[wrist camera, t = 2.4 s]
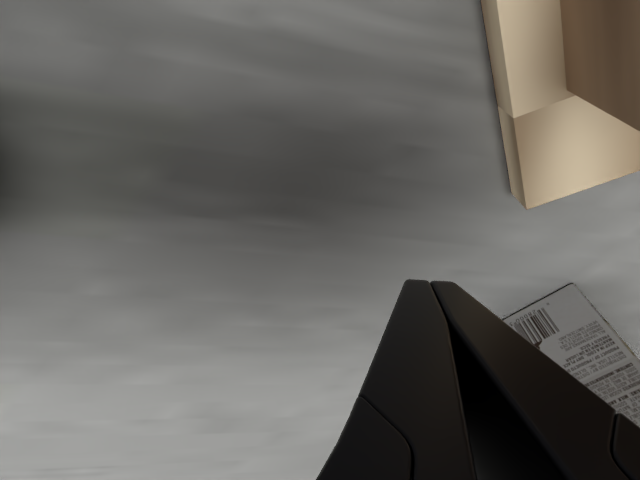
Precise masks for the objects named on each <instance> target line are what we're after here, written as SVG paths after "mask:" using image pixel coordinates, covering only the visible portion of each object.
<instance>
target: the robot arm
mask: <svg viewBox="0 0 640 480" xmlns="http://www.w3.org/2000/svg"><path fill="white" fill-rule="evenodd" d="M316 480H640V427H639V426H638V425H636V424H635V423H634V422H633V421H631V420H630V419H629V418H627V417H626V416H625V415H624V414H622V413H617V414H616V410H615V408H613V407H612V406H611V405H609V404H608V403H607V402H606V401H604V400H603V399H602V398H601V397H599V396H598V395H597V394H595V393H594V392H593V391H592V390H590V389H589V388H588V387H587V386H585V385H584V384H583V383H581V382H580V381H579V380H578V379H576V378H575V377H574V376H573V375H571V374H570V373H569V372H567V371H566V370H565V369H564V368H562V367H561V366H560V365H559V364H557V363H556V362H555V361H553V360H552V359H551V358H550V357H548V356H547V355H546V354H545V353H543V352H542V351H541V350H539V349H538V348H537V347H536V346H534V345H533V344H532V343H530V342H529V341H528V340H527V339H525V338H524V337H523V336H522V335H520V334H519V333H518V332H516V331H515V330H514V329H513V328H511V327H510V326H509V325H508V324H506V323H505V322H504V321H502V320H501V319H500V318H499V317H497V316H496V315H495V314H494V313H492V312H491V311H490V310H488V309H487V308H486V307H485V306H483V305H482V304H481V303H480V302H478V301H477V300H476V299H474V298H473V297H472V296H471V295H469V294H468V293H467V292H466V291H464V290H463V289H462V288H460V287H459V286H458V285H457V284H455V283H453V282H447V281H432V282H430V283H429V282H428V281H426V280H411V279H408V280H406V281H405V282H404V285H403V287H402V290H401V292H400V295H399V297H398V300H397V302H396V304H395V307H394V309H393V312H392V314H391V317H390V319H389V322H388V324H387V327H386V329H385V331H384V334H383V336H382V339H381V341H380V344H379V346H378V349H377V351H376V353H375V356H374V358H373V361H372V363H371V366H370V368H369V371H368V373H367V376H366V378H365V380H364V383H363V385H362V388H361V390H360V393H359V395H358V398H357V399H356V401H355V404H354V406H353V409H352V411H351V414H350V416H349V418H348V420H347V422H346V425H345V427H344V429H343V431H342V433H341V435H340V438H339V440H338V442H337V444H336V446H335V447H334V449H333V451H332V453H331V454H330V456H329V458H328V460H327V461H326V463H325V465H324V467H323V468H322V470H321V472H320V474H319V475H318V477H317V479H316Z"/></svg>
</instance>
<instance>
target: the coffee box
mask: <svg viewBox="0 0 640 480" xmlns="http://www.w3.org/2000/svg"><path fill="white" fill-rule="evenodd" d="M503 321H504V322H505V323H506V324H508V325H509V326H510V327H511V328H513V329H514V330H515V331H516V332H518V333H519V334H520V335H522V336H523V337H524V338H525V339H527V340H528V341H529V342H530V343H532V344H533V345H534V346H536V347H537V348H538V349H539V350H541V351H542V352H543V353H545V354H546V355H547V356H548V357H550V358H551V359H552V360H553V361H555V362H556V363H557V364H559V365H560V366H561V367H562V368H564V369H565V370H566V371H567V372H569V373H570V374H571V375H573V376H574V377H575V378H576V379H578V380H579V381H580V382H581V383H583V384H584V385H585V386H587V387H588V388H589V389H590V390H592V391H593V392H594V393H595V394H597V395H598V396H599V397H601V398H602V399H603V400H604V401H606V402H607V403H608V404H609V405H611V406H612V407H613V408H615V410H616V414H617V413H622V414H624V415H625V416H626V417H627V418H629V419H630V420H631V421H633V422H634V423H635V424H636V425H638V426H639V427H640V360H639V359H638V358H637V357H636V356H635V354H634V353H633V352H632V350H631V349H630V348H629V347H628V346H627V344H626V343H625V342H624V341H623V340H622V339H621V338H620V337H619V335H618V334H617V333H616V332H615V331H614V329H613V328H612V327H611V326H610V325H609V323H608V322H607V321H606V320H605V319H604V318H603V317H602V315H601V314H600V313H599V312H598V311H597V309H596V308H595V307H594V306H593V305H592V304H591V303H590V302H589V300H588V299H587V298H586V297H585V296H584V295H583V294H582V292H581V291H580V290H579V289H578V288H577V286H576V285H574V284H570V285H568V286H566V287H564V288H562V289H561V290H559V291H557V292H555V293H553V294H551V295H549V296H548V297H546V298H544V299H542V300H540V301H538V302H536V303H534V304H533V305H531V306H529V307H527V308H525V309H523V310H521V311H519V312H517V313H516V314H514V315H512V316H510V317H508V318H506V319H504V320H503Z"/></svg>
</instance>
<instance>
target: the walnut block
mask: <svg viewBox="0 0 640 480" xmlns="http://www.w3.org/2000/svg"><path fill="white" fill-rule="evenodd" d="M560 9H561V22H562V34H563V47H564V60H565V73H566V86H567V91H569V92H571V93H573V94H574V95H576V96H578V97H580V98H582V99H583V100H585V101H587V102H589V103H590V104H592V105H594V106H596V107H597V108H599V109H601V110H603V111H604V112H606V113H608V114H610V115H611V116H613V117H615V118H617V119H619V120H620V121H622V122H624V123H626V124H627V125H629V126H631V127H633V128H634V129H636V130H638V131H640V0H560Z"/></svg>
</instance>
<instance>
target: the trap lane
mask: <svg viewBox="0 0 640 480" xmlns="http://www.w3.org/2000/svg"><path fill="white" fill-rule="evenodd" d="M481 6H482V12H483V18H484V24H485V31H486V37H487V43H488V49H489V56H490V62H491V68H492V74H493V81H494V87H495V93H496V99H497V106H498V112H499V118H500V124H501V130H502V137H503V143H504V149H505V155H506V162H507V168H508V174H509V180H510V187H511V193H512V194H513V195H514V196H515V198H516V199H517V200H518V201H519V202H520V203H521V204H522V205H523V206H524V207H525V209H526V210H528V209H530V208H533V207H536V206H539V205H542V204H545V203H548V202H551V201H553V200H556V199H559V198H562V197H565V196H568V195H571V194H574V193H576V192H579V191H582V190H585V189H588V188H591V187H594V186H596V185H599V184H602V183H605V182H608V181H611V180H614V179H617V178H619V177H622V176H625V175H628V174H631V173H634V172H637V171H640V131H638V130H636V129H634V128H633V127H631V126H629V125H627V124H626V123H624V122H622V121H620V120H619V119H617V118H615V117H613V116H611V115H610V114H608V113H606V112H604V111H603V110H601V109H599V108H597V107H596V106H594V105H592V104H590V103H589V102H587V101H585V100H583V99H582V98H580V97H578V96H576V95H574V94H573V93H571V92H569V91H567V86H566V73H565V60H564V47H563V34H562V22H561V9H560V0H481Z"/></svg>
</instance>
